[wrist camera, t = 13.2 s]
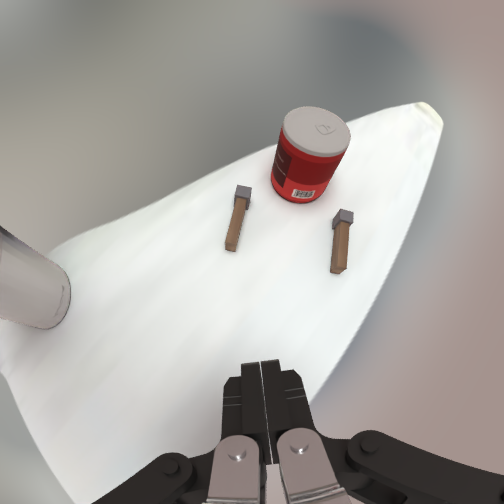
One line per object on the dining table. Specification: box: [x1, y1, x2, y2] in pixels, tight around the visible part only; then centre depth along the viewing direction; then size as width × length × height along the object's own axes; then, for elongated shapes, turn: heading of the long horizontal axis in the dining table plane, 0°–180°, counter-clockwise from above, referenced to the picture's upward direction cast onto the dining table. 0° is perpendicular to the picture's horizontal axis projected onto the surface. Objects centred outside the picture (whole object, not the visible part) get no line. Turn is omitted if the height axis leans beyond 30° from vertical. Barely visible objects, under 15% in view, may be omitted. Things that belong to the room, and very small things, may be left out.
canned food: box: [271, 107, 351, 203], centre depth 33 cm, size 8×8×11 cm
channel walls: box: [225, 198, 349, 274], centre depth 34 cm, size 14×6×2 cm, turn 79°
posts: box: [234, 185, 353, 229], centre depth 35 cm, size 15×2×3 cm, turn 79°
